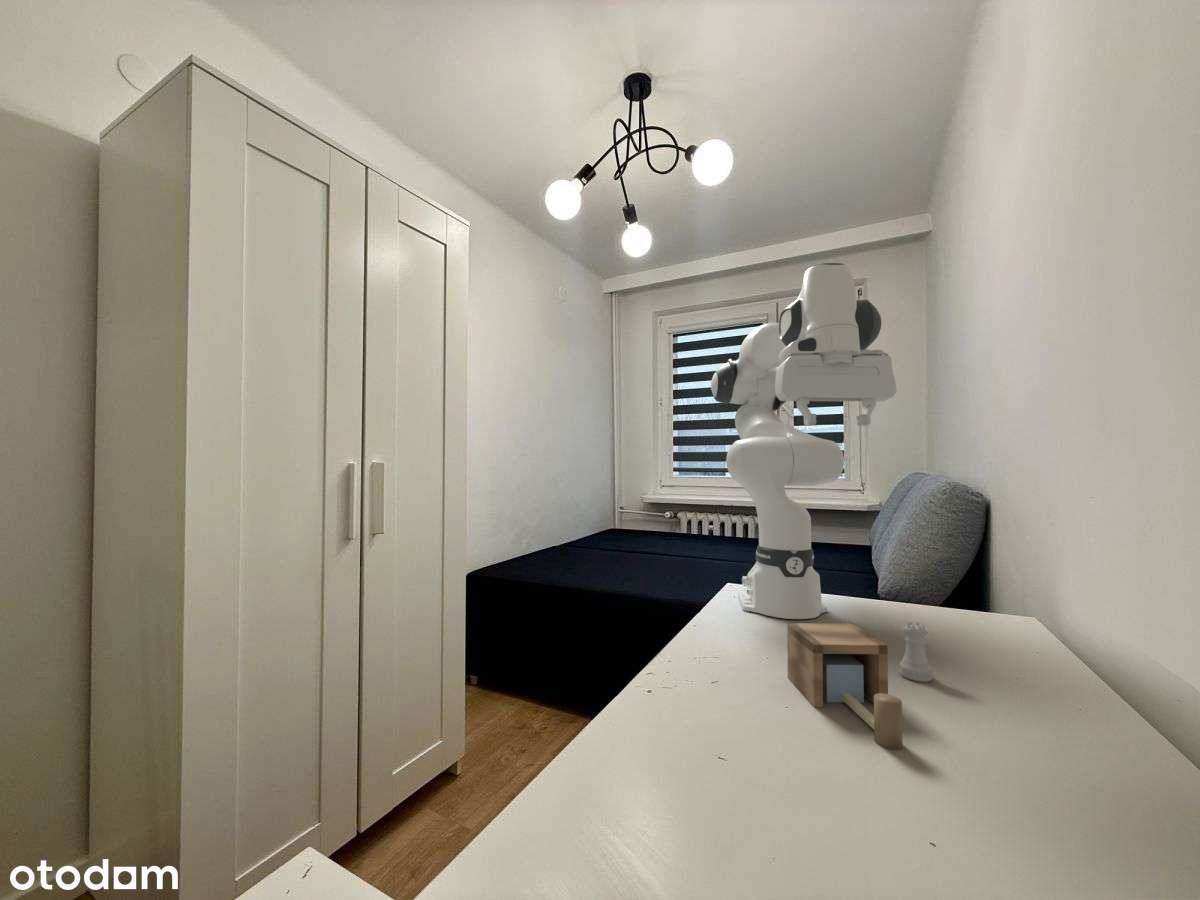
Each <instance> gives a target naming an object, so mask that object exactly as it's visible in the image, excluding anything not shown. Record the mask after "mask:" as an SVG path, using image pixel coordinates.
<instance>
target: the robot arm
mask: <svg viewBox="0 0 1200 900" xmlns="http://www.w3.org/2000/svg"><path fill="white" fill-rule="evenodd" d="M854 281H855V280H854V277H853V274H852V270H851V269H850V267H849V266H848V265H847V264H844V263H841V262H825V263H824V262H823V263H820V264H819V263H818V264H816V265H813V266H811V267H810V268H809V267H808V269H807V270H805V272H804V274H803V279H802V285H801V289H800V292H799V295H798V297H797V298H796V299H795V300H794V301H793V302H791V304H789V305H788V306H787V307H786V308H784V309H783V311H782V312H781V314H780V315H779V322H771V323H765V324H761V325H760V326H758V327H756V328H755V329H753V330H752V331H751V332H749V333H748V335H747V336H746V337H745V338H744V340H743V341H742V343H741V346H740V348H739V355H738V358H737V359H736V360H732V359H731V358H729V359H727V361H726V363H724V364H722V365H720V366H719V367H717V369H716V370H715V371H714V372H713V376H712V378H711V381H710V390H711V393H712V397H713V399H714V400H715V401H716V402H718V403H721V404H726V405H729V404H734V405H741V406H740V407H739V408H738V409H737V411H736V413H735V415H734V424H735V430H736V432H737V435H738V436H739V438H740V439H738V440H735V441H734V442H733V443H732V444H731V446H729V448H728V451H727V453H726V458H725V459H726V460H725V461H726V462H725V463H726V469H727V472H728V474H729V475H730V477H731V478H732V479H733V480H734V481H735V482H736V483H738V484H739V485H740V486H742V487H743V489H745V491H746V492H747V493H748V495H749V496H750V498H751V499H752V503H753V504H754V506H755V509H756V513H757V522H758V523H757V524H758V525H757V527H758V545H757V547H756V550H755V561H756V562H755V563H754V565H753V566H752V567H751V569H750V570H749V571H748V573H747V575H746V576H745V575H743V576H742V577H741V584H742V587H747V589H741V590H738V593H737V596H739V597H738V600H739V599H740V600H739V603H740V606H741V608H742V610H743V611H746V612H750V611H751V612H750V613H757V614H762V615H764V616H769V617H773V618H779V619H780V618H781V619H789V620H808V619H815V618H817V617H819V616H820V615H821V614H823V613H824V614H825V613H827V612H828V610H829V609H828V606H827V605H825V604H823V603H822V592H821V590H822V589H821V578H820V577H821V576H820V574H819V573H818V571H816V570H815V569H814V567H813V566H814V565H815V564H814V563H815V562H814V559H815V554H814V549H813V548H812V518H811V515H810V513H809V511H808V509H806V508H805V507H804V506H802V505H801V504H799V503H798V502H796V501H793V500H791V499H790V498H789V497H788V496H787V493H786V489H785V486H793V487H794V486H797V487H798V486H799V487H800V486H804V487H805V486H806V487H807V486H808V487H809V486H810V487H812V486H813V487H814V486H819V485H825V484H829V483H834V482H836V481H837V480H838V479H839V478H840V477H841V474H842V473H843V470H844V468H845V457H844V453H843V451H842V449H841V447H840V445H838V444H837V442H835V441H833V440H831V439H830V440H829V439H825V438H822V437H817V436H815V435H812V434H809V433H807V432H804V431H802V430H800V429H797V428H795V427H793V426H791V425H789V424H787V423H785V422H784V421H783V420H782V419H781V417H779V416H778V414H776V411H778V410H780V408H781V407H782V405H784V404H785V403H786V402H795V403H796V404H795V405H796V408H797V409H798V410H799V412H800V413H801V415H802V417H803V424H804V426H815V425H816V424H817V413H812V412H811V411H810V409H809V407H808V405H809V404H810V402H861V407H862V408H864V409H863V410H862V411H863V412H862V413H861V414H859V415H857V416H856V421H857V422H856V423H857V424H856V425H857V426H861V427H863V426H864V427H868V426H870V425H871V424H872V423H871V422H872V420H871V419H872V418H871V415H872V413H873V411H874V410H875V407H877V402H881V403H882V402H885V401H889V400H890V399H892V398H893V397H895V395H896V394H897V384H896V378H895V375H894V374H895V373H894V370H893V365H892V363H893V361H892V357H891V356H890V354H889V353H886V352H884V351H883V350H882V349H868V348H869V346H871V345H872V344H873V343H874V342H875V341H876V340H877V339H878V337H879V335H880V333H881V329H882V316H881V314H880V312H879V311H878V309H877V308H876V307H875V305H874V304H873V303H872V302H871V301H870V300H869V299H857V294H856V287H855V283H854Z"/></svg>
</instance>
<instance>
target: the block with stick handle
mask: <svg viewBox="0 0 1200 900" xmlns="http://www.w3.org/2000/svg"><path fill="white" fill-rule="evenodd" d="M823 700H824V701H825V702H826V703H845V704H846V705H847V706H848V707H849V708H850V709H852V711H853V712H854V713H855V714H857V715H858V716H859V718H860V719H862V720H863V721H865V723H866V724H867V725H869V727H870V728H871V729H872V730H873V733H874V735H873V736H874V738H873V740H874V742H875V743H876V744H877V745H878V746H880V747H883V748H885V749H889V750H893V751H894V750H901V749H902V748H903V710H902V709H903V708H902V707H903V706H902V705H903V701H902V700H901V699H900V698H899V697H897V696H896V695H895V696H894V695H892V694H889V693H888V694H883V693H879V694H875V695H874V703H873V713H871V712H870V711H869V710H868V708H866V707H865V706H864V705H863V704H861V703H865V695H864V675H863V664H861V663H860V662H858V661H857V660H856V659H854V658H853V657H852V656H850V655H849V654H823Z"/></svg>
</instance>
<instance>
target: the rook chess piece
mask: <svg viewBox="0 0 1200 900" xmlns="http://www.w3.org/2000/svg"><path fill="white" fill-rule="evenodd" d="M904 625H905V626H904V627H902V630H903V632H904V633H905V637H904V640H905V650H904V656H903V657H902V660H900V662H899V667H900V668H899V669H898V672H899V673H900V675H901V676H902V677H903V678H904V679H906V680H909V681H913V682H919V683H929V682H931V680H933V679H934V676H933V675H932V673H933V668H932V667H931V665H930V662H929V661H928V659H927V655H926V653H927V652H926V643H927V642H926V640H925V637H926V636H927V634H928V633H929V632H928V631H927V629H926V627H925V624H923V623H920V622H915V623H914V624H913V621H906V622H905V624H904Z"/></svg>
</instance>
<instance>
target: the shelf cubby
mask: <svg viewBox="0 0 1200 900" xmlns="http://www.w3.org/2000/svg"><path fill="white" fill-rule="evenodd" d="M786 629H787V632H786V633H787V679H788V680H789V681H790V682H791V683H792V684H793V686H794V687H795V688H796V689H797V690H798V691H799V692H800V693H801V694H802V696H803V697H805V698H806V700H807V701H808V703H810V704H811V705H812V706H813V707H814V708H824V698H823V654H849V655H850V656H852V657H853V658H854V659H856V660H857V661H858V662H860V663H861V664H863V675H864V697H866V698H867V699H868V700H870V701H871V702H872V703H873V704H874V695H875V694H879V693H883V694H889V677H888V676H889V663H888V662H889V660H888V658H889V657H888V656H889V654H888V644H886V643H884V642H883V641H882V640H881V639H878V638H877V637H874V635H872V634H871V633H868V632H867V631H865V630H864V629H862V628H860V627H859V626H857V625H855V624H853V623H830V622H829V623H821V622H819V623H818V622H817V623H815V622H814V623H813V622H812V623H811V622H809V623H808V622H805V623H803V622H799V623H798V622H788V623H787V628H786Z"/></svg>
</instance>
